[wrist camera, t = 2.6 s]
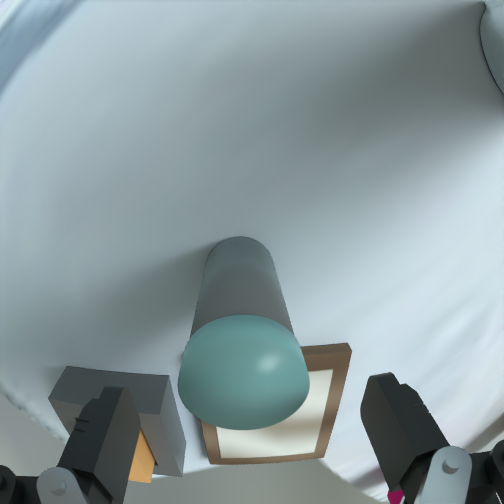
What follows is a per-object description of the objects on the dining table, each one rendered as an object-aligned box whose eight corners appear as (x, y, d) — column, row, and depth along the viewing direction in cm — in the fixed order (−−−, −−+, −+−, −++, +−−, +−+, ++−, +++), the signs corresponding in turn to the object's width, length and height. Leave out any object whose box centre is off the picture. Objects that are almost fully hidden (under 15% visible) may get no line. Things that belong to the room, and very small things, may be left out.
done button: (86, 402, 20) (70, 439, 16) (143, 410, 20) (132, 451, 16) (105, 438, 21) (94, 473, 18) (157, 446, 22) (150, 483, 18)
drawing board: (191, 350, 20) (189, 360, 19) (347, 342, 21) (352, 351, 20) (210, 456, 25) (209, 465, 24) (321, 449, 26) (324, 458, 25)
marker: (202, 235, 18) (167, 340, 8) (275, 234, 18) (316, 336, 8) (207, 300, 19) (187, 429, 10) (274, 299, 19) (303, 426, 10)
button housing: (67, 366, 21) (47, 398, 17) (169, 375, 21) (159, 414, 17) (99, 432, 24) (88, 462, 20) (186, 442, 24) (182, 476, 20)
